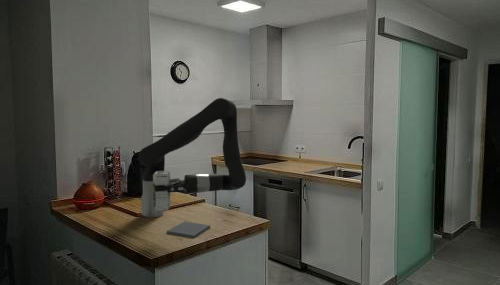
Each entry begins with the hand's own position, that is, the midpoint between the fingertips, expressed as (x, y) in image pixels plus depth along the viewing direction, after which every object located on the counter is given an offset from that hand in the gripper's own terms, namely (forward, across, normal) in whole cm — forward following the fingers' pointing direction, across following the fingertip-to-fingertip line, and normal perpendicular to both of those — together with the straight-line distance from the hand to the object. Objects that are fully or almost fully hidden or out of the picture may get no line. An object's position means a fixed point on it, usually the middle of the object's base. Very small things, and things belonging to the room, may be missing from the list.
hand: (154, 186), depth 133 cm
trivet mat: (-14, -5, +21) cm, 25 cm away
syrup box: (-3, 0, +9) cm, 10 cm away
